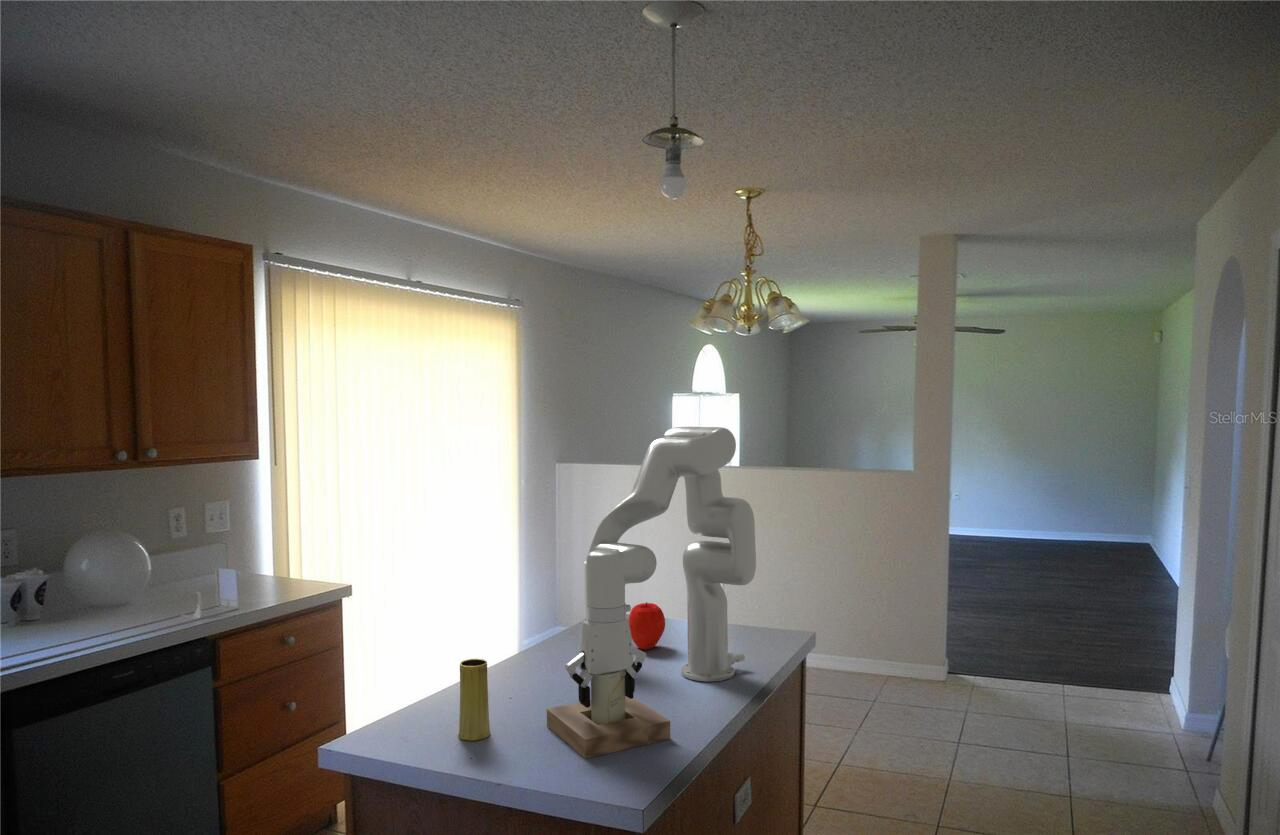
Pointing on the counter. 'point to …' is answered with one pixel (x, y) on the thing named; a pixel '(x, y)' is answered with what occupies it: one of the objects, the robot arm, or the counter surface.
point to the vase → (473, 700)
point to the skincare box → (608, 697)
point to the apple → (646, 625)
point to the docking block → (607, 728)
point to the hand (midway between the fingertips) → (607, 700)
